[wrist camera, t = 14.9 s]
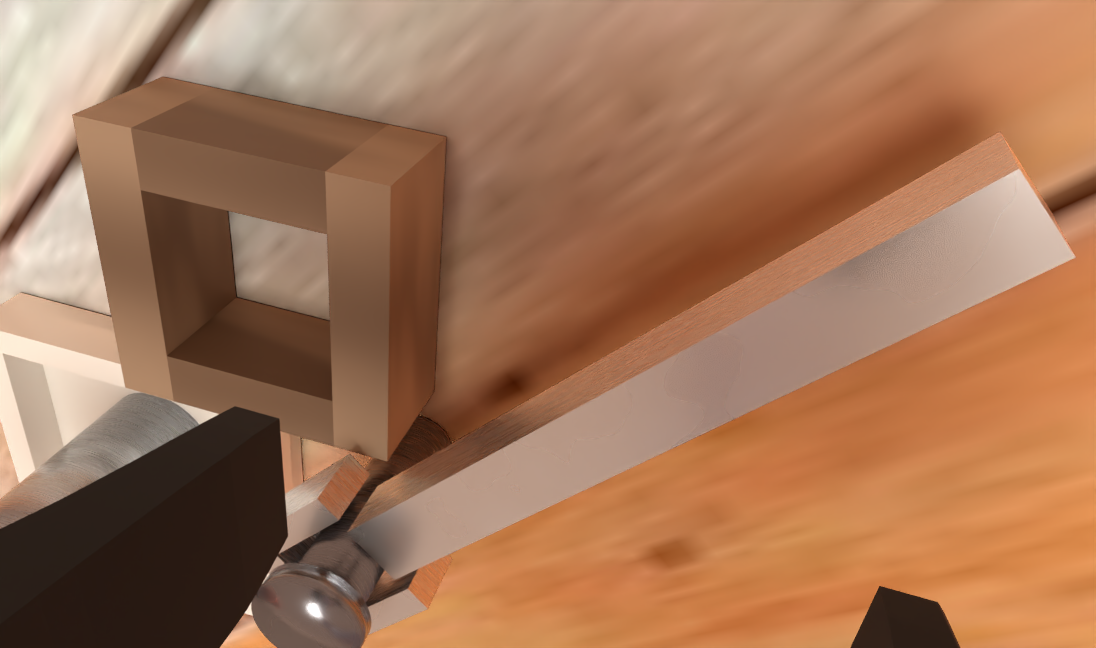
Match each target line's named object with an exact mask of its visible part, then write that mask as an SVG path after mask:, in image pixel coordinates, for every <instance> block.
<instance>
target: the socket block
mask: <svg viewBox="0 0 1096 648" xmlns="http://www.w3.org/2000/svg"><path fill="white" fill-rule="evenodd" d="M72 116H73V122H74V127H75V132H76V137H77V142H78V147H79V152H80V158H81V163H82V168H83V173H84V178H85V183H86V189H87V194H88V199H89V204H90V209H91V214H92V219H93V225H94V230H95V235H96V240H97V245H98V250H99V255H100V261H101V266H102V271H103V276H104V281H105V286H106V291H107V297H108V302H109V307H110V312H111V317H112V322H113V327H114V333H115V338H116V343H117V348H118V353H119V358H120V364H121V369H122V374H123V379H124V384H125V388H128V389H132V390H135V391H139V392H142V393H146V394H150V395H153V396H157V397H160V398H164V399H167V400H171V401H174V402H178V403H182V404H185V405H189V406H192V407H196V408H199V409H203V410H206V411H210V412H213V413H217V414H221V413H222V412H224V411H226V410H228V409H230V408H232V407H234V406H236V407H240V408H244V409H247V410H251V411H254V412H258V413H262V414H265V415H269V416H272V417H276V418H279V420H280V431H281V432H284V433H288V434H292V435H295V436H299V437H302V438H306V439H309V440H313V441H316V442H320V443H323V444H327V445H331V446H334V447H338V448H341V449H345V450H348V451H352V452H355V453H359V454H362V455H366V456H370V457H373V458H377V459H380V460H384V461H388V460H389V458H390V457H391V455H392V454H393V452H394V451H395V449H396V448H397V446H398V445H399V443H400V442H401V440H402V439H403V437H404V436H405V434H406V433H407V431H408V430H409V428H410V427H411V425H412V424H413V422H414V421H415V419H416V418H417V416H418V415H419V413H420V412H421V410H422V409H423V407H424V406H425V404H426V403H427V401H428V400H429V398H430V397H431V395H432V394H433V392H434V383H435V362H436V341H437V320H438V300H439V279H440V258H441V238H442V217H443V196H444V175H445V155H446V137H445V136H440V135H435V134H431V133H426V132H421V131H417V130H412V129H407V128H402V127H398V126H393V125H388V124H383V123H379V122H374V121H369V120H365V119H360V118H355V117H350V116H346V115H341V114H336V113H331V112H327V111H322V110H317V109H312V108H308V107H303V106H298V105H294V104H289V103H284V102H279V101H275V100H270V99H265V98H260V97H256V96H251V95H246V94H242V93H237V92H232V91H227V90H223V89H218V88H213V87H208V86H204V85H199V84H194V83H189V82H185V81H180V80H175V79H171V78H166V77H161V78H159V79H156V80H154V81H152V82H149V83H147V84H144V85H142V86H140V87H137V88H135V89H133V90H130V91H128V92H125V93H123V94H121V95H118V96H116V97H113V98H111V99H109V100H106V101H104V102H102V103H99V104H97V105H94V106H92V107H90V108H87V109H85V110H83V111H80V112H78V113H75V114H73V115H72ZM228 211H231V212H235V213H239V214H244V215H248V216H252V217H256V218H260V219H265V220H269V221H273V222H277V223H282V224H286V225H290V226H294V227H298V228H303V229H307V230H311V231H315V232H319V233H324V234H327V243H328V274H329V306H330V321H326V320H322V319H318V318H314V317H311V316H307V315H303V314H299V313H295V312H291V311H287V310H283V309H279V308H275V307H271V306H268V305H264V304H260V303H256V302H252V301H248V300H244V299H240V298H236V290H235V280H234V270H233V260H232V250H231V241H230V231H229V221H228Z"/></svg>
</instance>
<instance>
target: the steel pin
mask: <svg viewBox="0 0 1096 648" xmlns="http://www.w3.org/2000/svg"><path fill="white" fill-rule="evenodd" d="M198 425H199V424H198V422H197V421H196V420H195V419H194V418H193V417H192V416H191V415H190V414H189V413H188V412H187V411H186V410H184V409H183V408H182V407H180V406H179V405H177V404H176V403H174V402H172V401H170V400H167V399H163V398H160V397H156V396H153V395H149V394H146V393H132V394H129V395H127V396H125V397H123V398H122V399H121V400H120V401H118V402H117V403H116V404H115V405H114V406H112V407H111V408H110V409H109V410H108V411H106V412H105V413H104V414H103V415H102V416H100V417H99V418H98V419H97V420H95V421H94V422H93V423H92V424H91V425H89V426H88V427H87V428H86V429H85V430H83V431H82V432H81V433H80V434H79V435H77V436H76V437H75V438H74V439H72V440H71V441H70V442H69V443H68V444H66V445H65V446H64V447H63V448H62V449H60V450H59V451H58V452H57V453H56V454H54V455H53V456H52V457H51V458H49V459H48V460H47V461H46V462H45V463H43V464H42V465H41V466H40V467H39V468H37V469H36V470H35V471H34V472H33V473H31V474H30V475H29V476H28V477H26V478H25V479H24V480H23V481H22V482H20V483H19V484H18V485H17V486H16V487H14V488H13V489H12V490H11V491H10V492H8V493H7V494H6V495H5V496H3V497H2V498H1V499H0V529H1V528H3V527H5V526H7V525H9V524H11V523H13V522H15V521H17V520H19V519H22V518H24V517H26V516H28V515H30V514H32V513H34V512H36V511H38V510H40V509H42V508H44V507H46V506H48V505H50V504H52V503H54V502H56V501H58V500H60V499H62V498H64V497H66V496H68V495H70V494H72V493H74V492H76V491H78V490H79V489H81V488H83V487H85V486H87V485H89V484H91V483H93V482H94V481H96V480H98V479H100V478H102V477H104V476H106V475H108V474H109V473H111V472H113V471H115V470H117V469H119V468H121V467H123V466H125V465H126V464H128V463H130V462H132V461H134V460H136V459H138V458H139V457H141V456H143V455H145V454H147V453H148V452H150V451H152V450H154V449H156V448H158V447H159V446H161V445H163V444H165V443H167V442H169V441H170V440H172V439H174V438H176V437H178V436H179V435H181V434H183V433H185V432H187V431H189V430H190V429H192V428H194V427H196V426H198Z"/></svg>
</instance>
